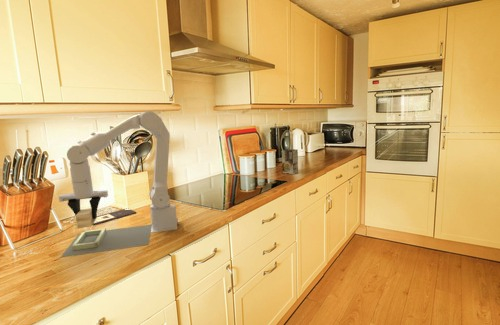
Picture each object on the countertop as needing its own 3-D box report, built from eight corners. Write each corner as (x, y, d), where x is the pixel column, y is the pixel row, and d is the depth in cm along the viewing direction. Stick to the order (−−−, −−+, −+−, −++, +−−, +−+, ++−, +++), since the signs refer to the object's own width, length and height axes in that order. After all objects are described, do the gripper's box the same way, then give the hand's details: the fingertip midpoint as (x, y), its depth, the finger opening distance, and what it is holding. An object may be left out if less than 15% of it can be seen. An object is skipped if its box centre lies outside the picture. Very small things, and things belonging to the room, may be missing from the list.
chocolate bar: (136, 212, 131) (93, 224, 118) (136, 214, 131) (93, 226, 119) (127, 208, 137) (85, 219, 124) (127, 210, 138) (85, 221, 125)
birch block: (91, 226, 98) (89, 213, 97) (77, 228, 96) (75, 215, 96) (97, 217, 106) (95, 205, 105) (84, 219, 105) (83, 207, 104)
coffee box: (298, 172, 201) (298, 149, 198) (293, 174, 196) (292, 150, 194) (287, 171, 207) (286, 148, 204) (282, 173, 202) (281, 149, 200)
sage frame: (106, 232, 109) (105, 228, 109) (97, 246, 97) (97, 242, 97) (83, 235, 108) (83, 231, 107) (72, 250, 96) (71, 246, 95)
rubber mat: (152, 225, 116) (152, 224, 115) (148, 246, 97) (148, 244, 97) (79, 235, 109) (78, 233, 109) (60, 258, 91) (60, 257, 91)
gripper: (107, 176, 104) (112, 212, 107) (62, 180, 101) (67, 217, 103) (103, 180, 98) (108, 219, 100) (54, 184, 94) (60, 225, 96)
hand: (87, 219), depth 101 cm, fingers closed on birch block, 4 cm apart
